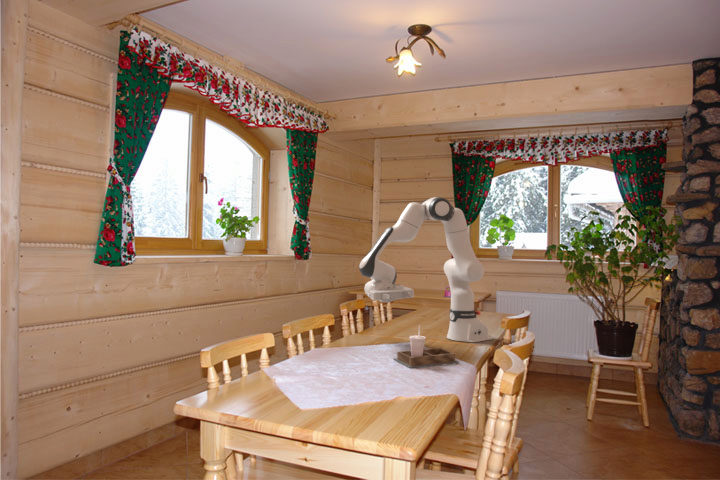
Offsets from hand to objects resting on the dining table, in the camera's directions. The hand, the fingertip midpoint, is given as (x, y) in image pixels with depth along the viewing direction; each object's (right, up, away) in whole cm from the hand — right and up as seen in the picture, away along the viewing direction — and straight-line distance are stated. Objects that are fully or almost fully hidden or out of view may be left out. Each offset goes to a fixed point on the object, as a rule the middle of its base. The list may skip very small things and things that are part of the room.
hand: (400, 296), depth 205 cm
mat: (+9, -24, -17) cm, 30 cm away
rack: (+9, -24, -17) cm, 30 cm away
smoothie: (+5, -23, -20) cm, 31 cm away
